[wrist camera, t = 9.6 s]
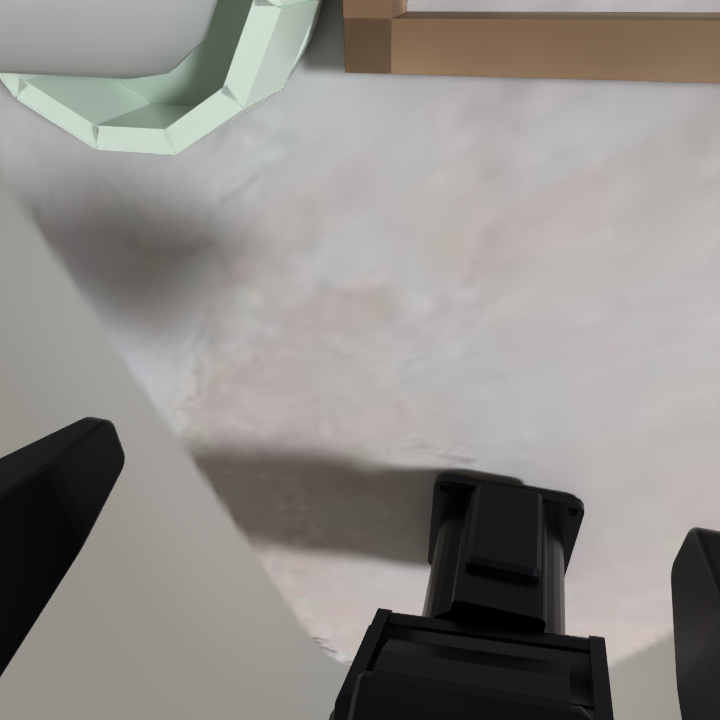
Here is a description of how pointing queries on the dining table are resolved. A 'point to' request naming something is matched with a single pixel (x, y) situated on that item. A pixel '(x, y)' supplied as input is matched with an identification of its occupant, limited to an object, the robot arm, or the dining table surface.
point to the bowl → (182, 82)
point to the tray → (531, 43)
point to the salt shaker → (100, 36)
